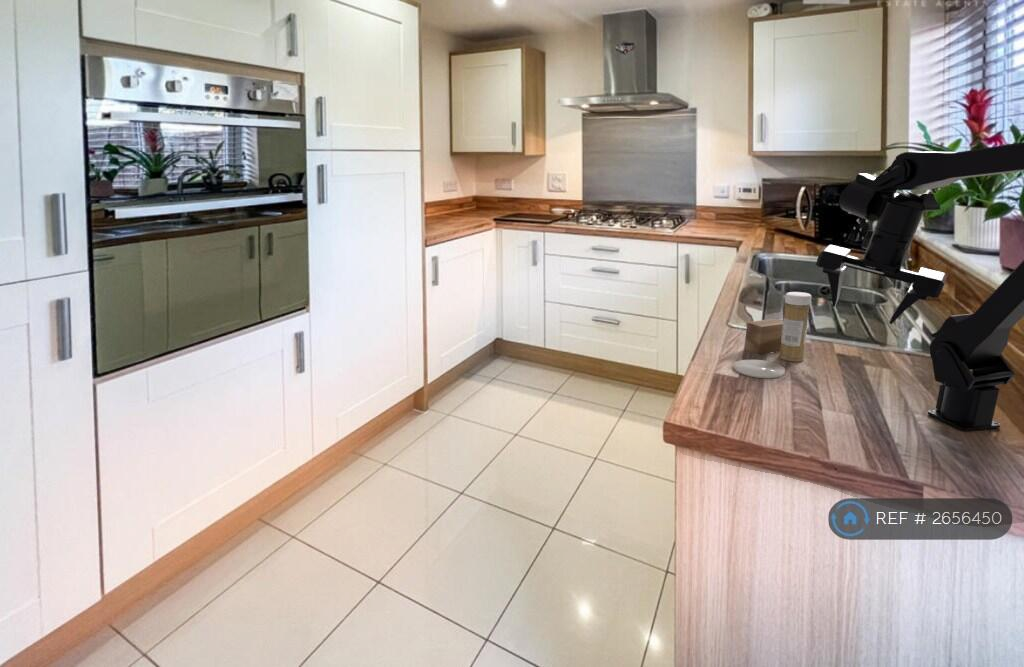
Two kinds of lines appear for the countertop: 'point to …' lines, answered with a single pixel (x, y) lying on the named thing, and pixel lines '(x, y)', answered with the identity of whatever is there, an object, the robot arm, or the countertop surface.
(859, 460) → the countertop surface
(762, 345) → the walnut block
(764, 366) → the stone coaster
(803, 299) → the sprinkles bottle
